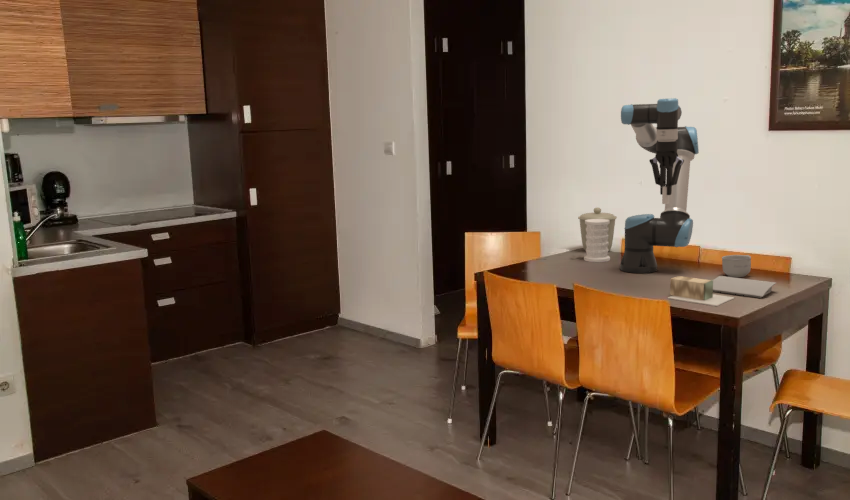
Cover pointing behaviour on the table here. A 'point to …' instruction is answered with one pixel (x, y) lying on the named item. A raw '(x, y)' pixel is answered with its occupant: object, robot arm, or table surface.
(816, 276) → the table surface
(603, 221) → the decorative container
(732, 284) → the book
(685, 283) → the maple block
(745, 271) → the teacup
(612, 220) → the canister
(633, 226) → the robot arm
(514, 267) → the table surface
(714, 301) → the grey mat
